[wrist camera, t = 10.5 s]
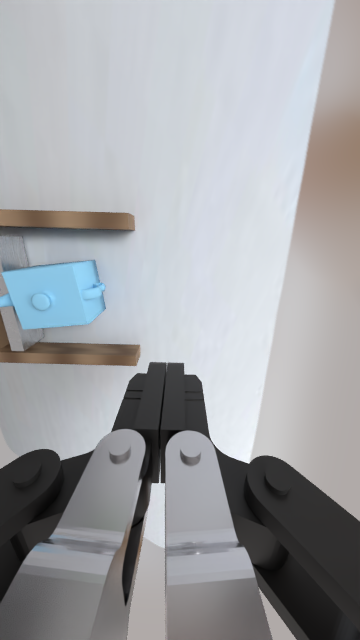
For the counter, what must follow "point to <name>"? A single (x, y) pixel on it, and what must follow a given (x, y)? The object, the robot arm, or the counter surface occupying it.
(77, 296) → the teapot
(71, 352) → the bracket
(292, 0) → the counter surface
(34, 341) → the stop plate
